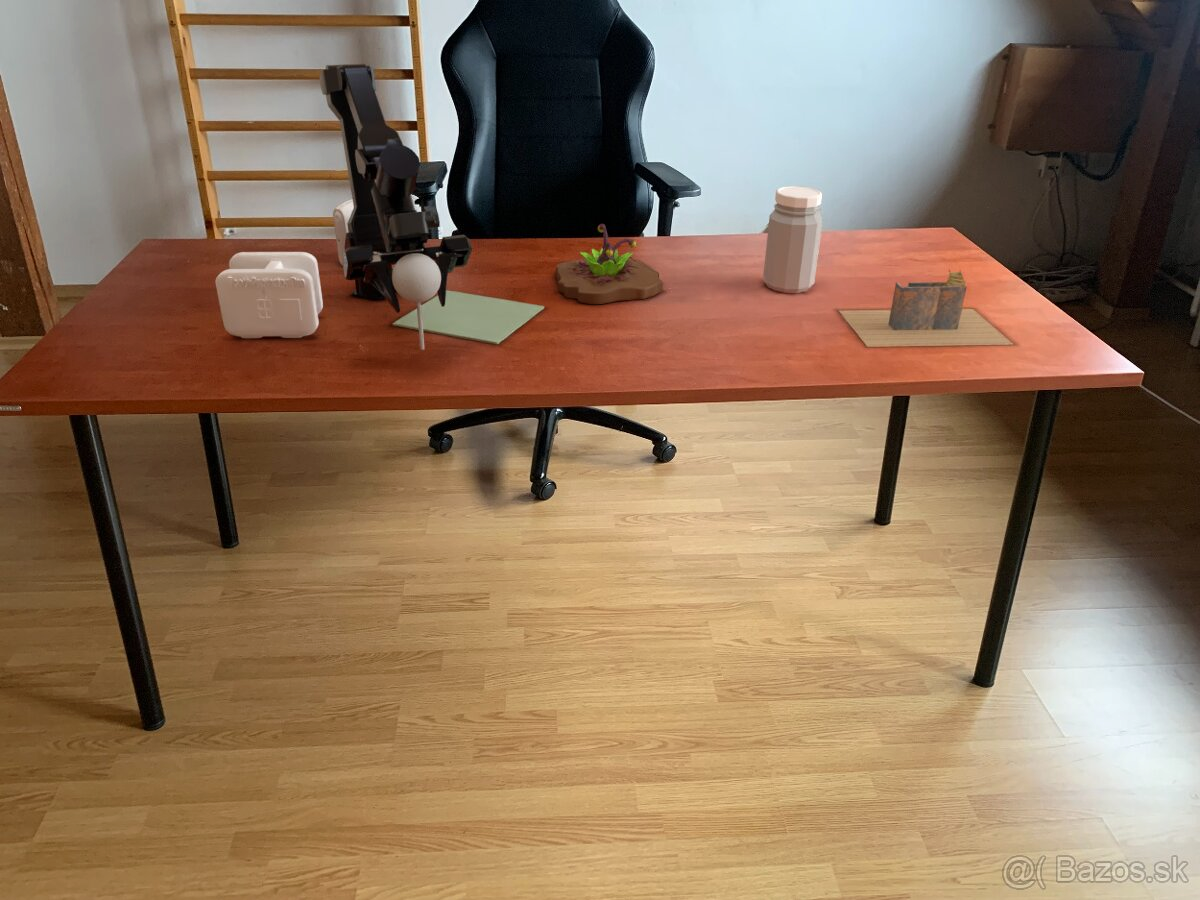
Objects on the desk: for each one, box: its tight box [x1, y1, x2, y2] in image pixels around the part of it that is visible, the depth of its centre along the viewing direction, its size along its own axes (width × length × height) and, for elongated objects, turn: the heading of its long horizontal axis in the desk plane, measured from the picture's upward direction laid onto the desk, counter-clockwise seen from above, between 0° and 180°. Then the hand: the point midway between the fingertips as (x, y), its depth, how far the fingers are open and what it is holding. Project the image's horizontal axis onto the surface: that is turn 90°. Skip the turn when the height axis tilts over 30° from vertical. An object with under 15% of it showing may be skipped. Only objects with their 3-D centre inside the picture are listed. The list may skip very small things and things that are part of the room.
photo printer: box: [332, 198, 354, 267], centre depth 186 cm, size 10×4×12 cm, turn 141°
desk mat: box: [392, 289, 545, 345], centre depth 164 cm, size 20×18×1 cm
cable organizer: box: [214, 251, 324, 339], centre depth 155 cm, size 15×11×12 cm
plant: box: [555, 223, 664, 305], centre depth 176 cm, size 20×20×11 cm
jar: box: [762, 185, 824, 294], centre depth 175 cm, size 10×10×18 cm
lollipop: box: [392, 253, 441, 351], centre depth 141 cm, size 7×7×15 cm
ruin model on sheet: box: [838, 269, 1015, 348], centre depth 160 cm, size 25×16×10 cm, turn 94°
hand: (421, 308), depth 140 cm, fingers closed on lollipop, 6 cm apart
